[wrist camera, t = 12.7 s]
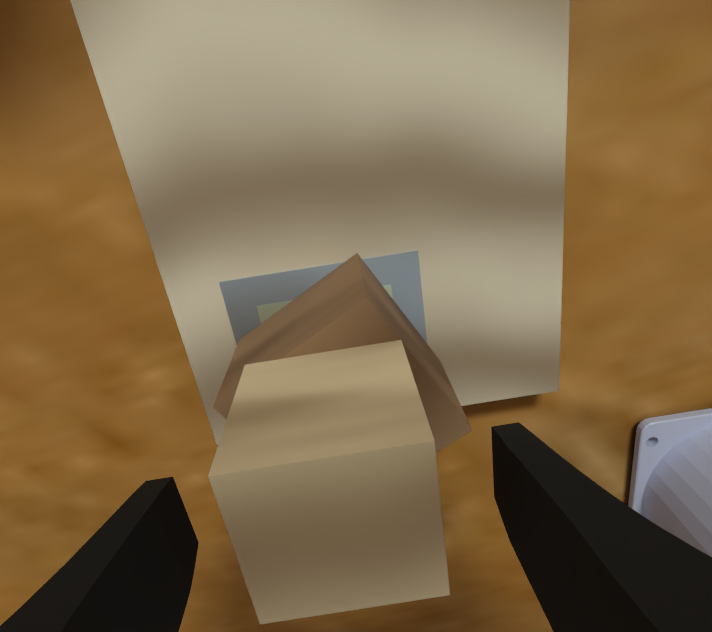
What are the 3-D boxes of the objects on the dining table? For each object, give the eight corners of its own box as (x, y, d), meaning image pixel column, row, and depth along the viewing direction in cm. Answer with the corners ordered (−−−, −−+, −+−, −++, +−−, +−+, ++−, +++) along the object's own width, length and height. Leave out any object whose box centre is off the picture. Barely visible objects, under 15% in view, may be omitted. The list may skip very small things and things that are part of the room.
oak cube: (416, 464, 13) (449, 594, 10) (278, 485, 13) (260, 624, 10) (401, 339, 12) (434, 440, 8) (244, 364, 12) (207, 475, 8)
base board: (542, 376, 19) (559, 397, 18) (226, 425, 19) (218, 451, 18) (547, -141, 13) (576, -174, 11) (73, -62, 13) (40, -85, 11)
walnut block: (440, 361, 17) (472, 430, 13) (329, 433, 18) (330, 517, 14) (357, 252, 15) (366, 297, 11) (239, 339, 16) (212, 406, 12)
